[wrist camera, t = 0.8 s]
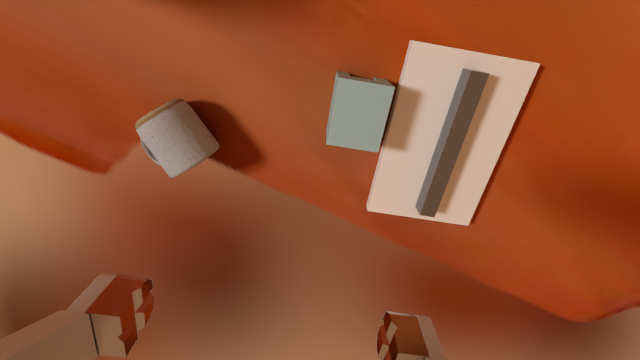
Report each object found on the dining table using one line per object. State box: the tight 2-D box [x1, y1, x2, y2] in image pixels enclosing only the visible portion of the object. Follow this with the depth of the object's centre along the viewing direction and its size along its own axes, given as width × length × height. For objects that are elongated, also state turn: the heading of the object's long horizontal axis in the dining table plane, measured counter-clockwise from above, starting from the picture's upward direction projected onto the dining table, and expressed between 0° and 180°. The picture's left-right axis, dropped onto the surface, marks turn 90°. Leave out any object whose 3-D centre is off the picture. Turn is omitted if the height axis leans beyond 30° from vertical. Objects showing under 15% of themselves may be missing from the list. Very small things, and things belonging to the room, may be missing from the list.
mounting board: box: [366, 40, 540, 226], centre depth 43 cm, size 24×16×2 cm, turn 171°
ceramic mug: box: [135, 99, 220, 178], centre depth 41 cm, size 11×8×8 cm
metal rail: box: [415, 68, 489, 217], centre depth 41 cm, size 20×2×2 cm, turn 171°
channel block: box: [326, 71, 395, 153], centre depth 39 cm, size 8×6×6 cm
